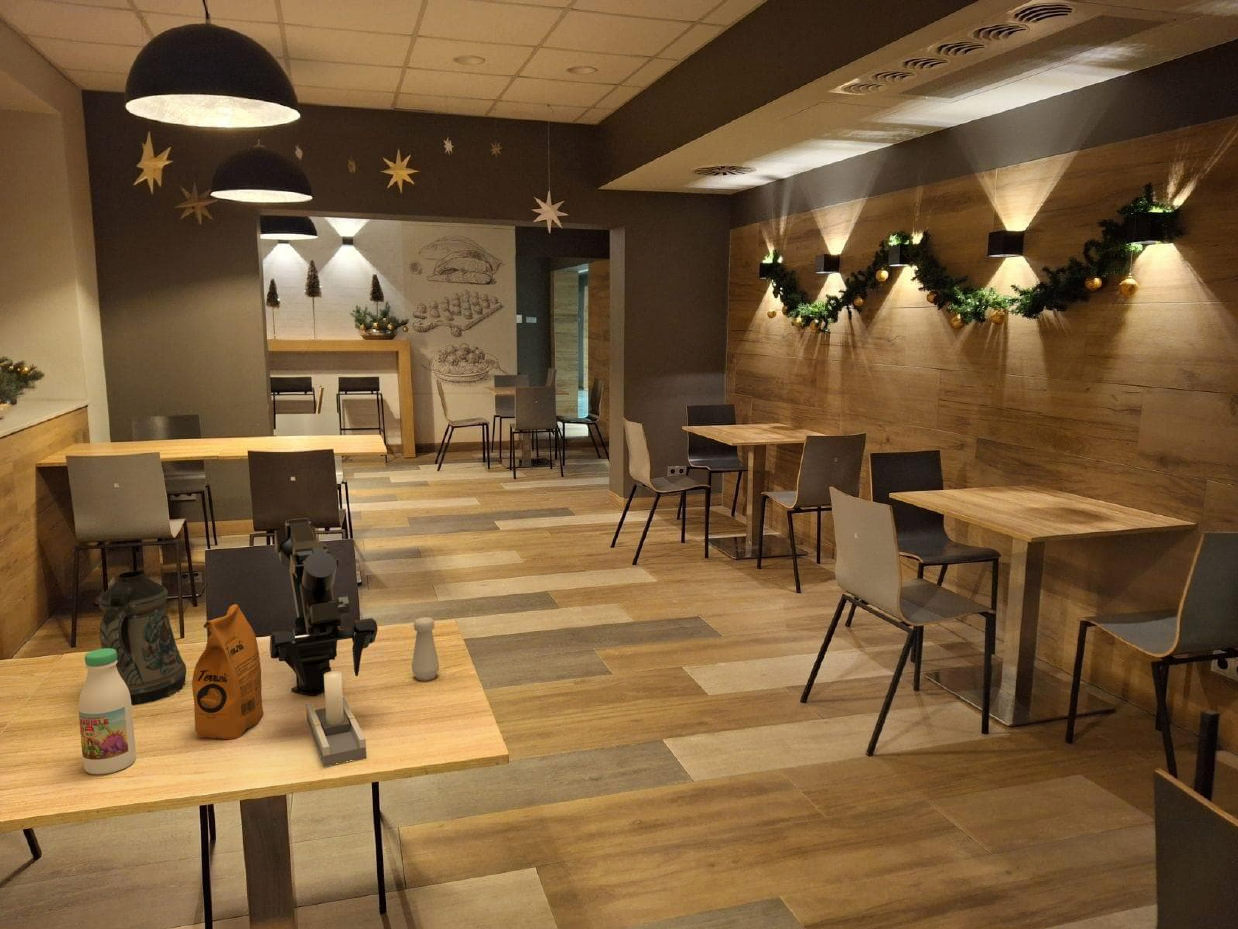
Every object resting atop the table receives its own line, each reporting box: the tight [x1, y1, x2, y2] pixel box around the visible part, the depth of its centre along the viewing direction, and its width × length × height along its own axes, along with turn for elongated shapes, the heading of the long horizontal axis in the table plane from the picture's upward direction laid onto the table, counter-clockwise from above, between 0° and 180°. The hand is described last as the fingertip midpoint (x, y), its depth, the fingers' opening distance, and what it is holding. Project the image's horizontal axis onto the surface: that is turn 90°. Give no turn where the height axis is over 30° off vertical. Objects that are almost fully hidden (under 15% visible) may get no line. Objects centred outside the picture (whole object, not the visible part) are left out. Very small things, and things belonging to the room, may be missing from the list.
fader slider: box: [321, 670, 350, 736], centre depth 154 cm, size 4×4×10 cm
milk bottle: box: [78, 648, 137, 775], centre depth 144 cm, size 8×8×20 cm
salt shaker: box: [411, 616, 440, 682], centre depth 183 cm, size 6×6×13 cm
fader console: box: [305, 696, 367, 768], centre depth 155 cm, size 20×7×4 cm, turn 28°
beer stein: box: [97, 570, 187, 706], centre depth 174 cm, size 16×19×25 cm
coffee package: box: [191, 604, 264, 740], centre depth 159 cm, size 10×12×22 cm
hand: (331, 679), depth 155 cm, fingers open, 9 cm apart
